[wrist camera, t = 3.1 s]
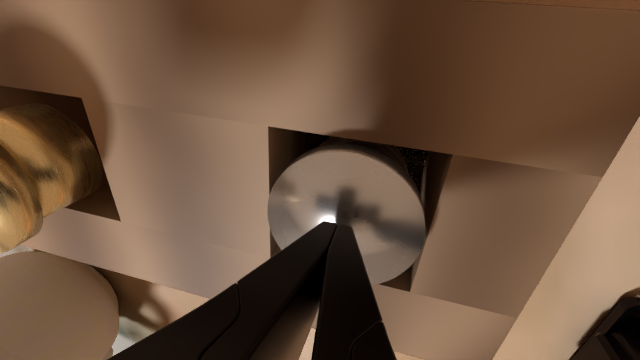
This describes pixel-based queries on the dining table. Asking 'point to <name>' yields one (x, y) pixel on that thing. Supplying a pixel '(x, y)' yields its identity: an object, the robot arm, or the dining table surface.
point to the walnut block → (334, 120)
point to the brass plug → (41, 169)
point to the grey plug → (353, 202)
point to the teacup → (55, 309)
